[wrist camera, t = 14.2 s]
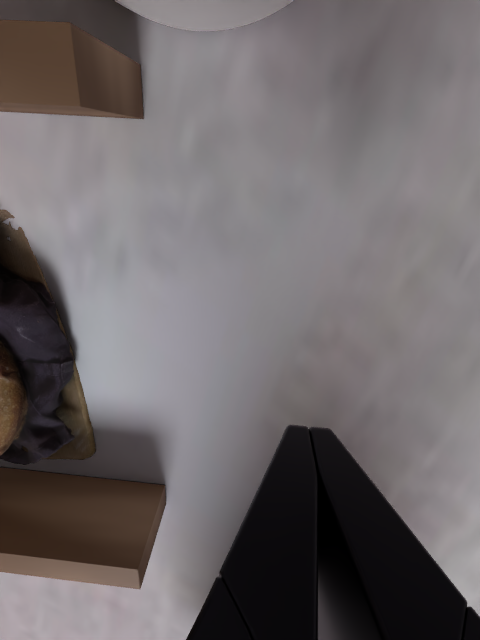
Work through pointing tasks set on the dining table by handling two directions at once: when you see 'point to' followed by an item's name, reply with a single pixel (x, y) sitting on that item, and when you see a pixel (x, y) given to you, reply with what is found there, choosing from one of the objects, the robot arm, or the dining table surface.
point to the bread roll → (36, 365)
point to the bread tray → (51, 488)
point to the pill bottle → (204, 12)
